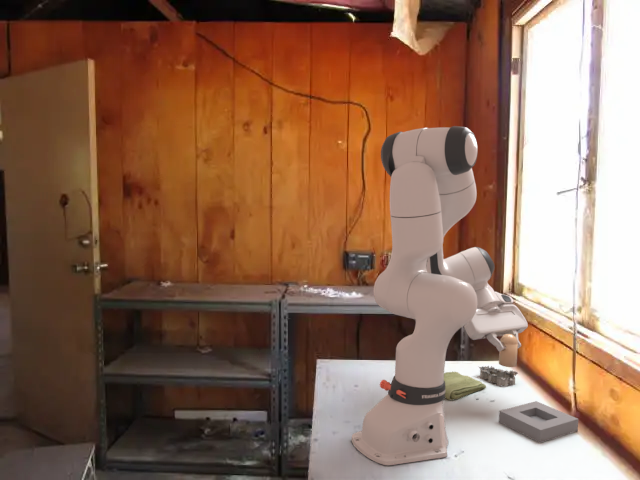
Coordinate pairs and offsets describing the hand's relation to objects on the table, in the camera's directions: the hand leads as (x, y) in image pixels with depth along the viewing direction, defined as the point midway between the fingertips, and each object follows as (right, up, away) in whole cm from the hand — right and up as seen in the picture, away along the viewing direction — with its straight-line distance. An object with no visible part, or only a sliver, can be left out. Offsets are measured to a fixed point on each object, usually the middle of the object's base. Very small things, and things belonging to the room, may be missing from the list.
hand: (510, 348), depth 130 cm
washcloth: (-11, -16, +18) cm, 26 cm away
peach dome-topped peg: (0, -4, +1) cm, 4 cm away
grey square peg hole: (+4, -18, -7) cm, 20 cm away
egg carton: (+6, -16, +26) cm, 31 cm away
